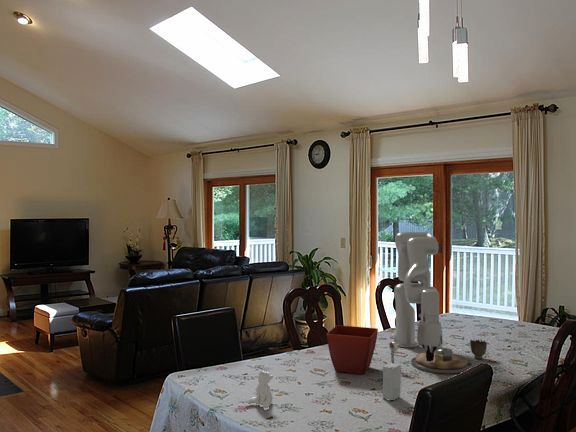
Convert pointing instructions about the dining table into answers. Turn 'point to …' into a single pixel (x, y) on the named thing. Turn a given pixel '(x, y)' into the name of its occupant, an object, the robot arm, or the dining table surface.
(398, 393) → the skincare box
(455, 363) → the platter
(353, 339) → the plant pot
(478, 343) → the cup
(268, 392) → the sitting furry creature
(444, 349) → the cover
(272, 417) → the dining table surface
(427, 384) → the dining table surface
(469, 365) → the turntable base
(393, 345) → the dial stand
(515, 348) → the dining table surface
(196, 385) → the dining table surface
